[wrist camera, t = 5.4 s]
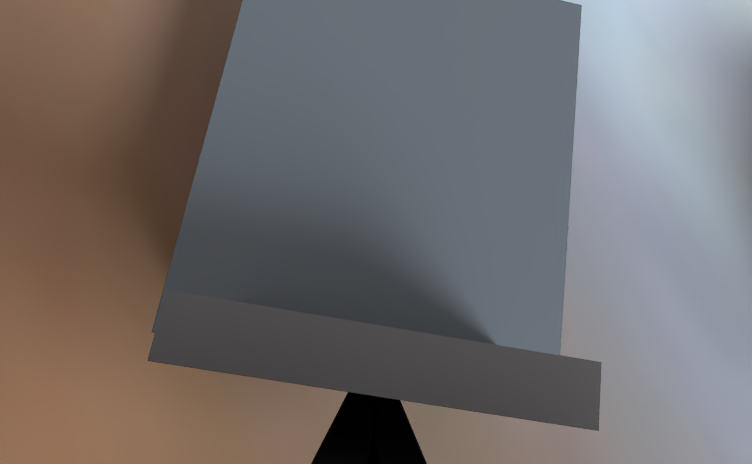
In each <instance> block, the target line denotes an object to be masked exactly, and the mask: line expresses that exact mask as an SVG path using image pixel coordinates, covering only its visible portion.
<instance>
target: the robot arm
mask: <svg viewBox="0 0 752 464" xmlns="http://www.w3.org/2000/svg"><path fill="white" fill-rule="evenodd" d="M311 464H427V463H426V461H425V458H424V456H423V454H422V451H421V449H420V446H419V444H418V442H417V439H416V437H415V435H414V432H413V430H412V427H411V425H410V423H409V420H408V418H407V415H406V413H405V411H404V408H403V406H402V404H401V401H400V400H397V399H390V398H384V397H378V396H371V395H365V394H358V393H352V392H348V393H347V395H346V397H345V399H344V401H343V403H342V405H341V407H340V409H339V411H338V413H337V415H336V417H335V419H334V420H333V422H332V424H331V426H330V428H329V430H328V432H327V434H326V436H325V438H324V440H323V442H322V444H321V446H320V448H319V450H318V452H317V453H316V455H315V457H314V459H313V461H312V463H311Z"/></svg>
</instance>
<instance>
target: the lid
mask: <svg viewBox="0 0 752 464" xmlns="http://www.w3.org/2000/svg"><path fill="white" fill-rule="evenodd" d="M581 7H582V5H578V4H574V3H570V2H565V1H561V0H243V1H242V5H241V9H240V12H239V16H238V20H237V23H236V27H235V30H234V34H233V38H232V41H231V45H230V49H229V52H228V56H227V60H226V63H225V67H224V70H223V74H222V78H221V81H220V85H219V89H218V92H217V96H216V100H215V103H214V107H213V111H212V114H211V118H210V121H209V125H208V129H207V132H206V136H205V140H204V143H203V147H202V151H201V154H200V158H199V162H198V165H197V169H196V172H195V176H194V180H193V183H192V187H191V191H190V194H189V198H188V202H187V205H186V209H185V212H184V216H183V220H182V223H181V227H180V231H179V234H178V238H177V242H176V245H175V249H174V253H173V256H172V260H171V263H170V267H169V271H168V274H167V278H166V282H165V285H164V289H163V293H162V296H161V300H160V304H159V307H158V311H157V314H156V318H155V322H154V325H153V329H152V332H153V333H155V335H154V339H153V342H152V346H151V350H150V353H149V357H148V361H152V362H158V363H165V364H171V365H178V366H184V367H191V368H197V369H204V370H210V371H216V372H223V373H229V374H236V375H242V376H249V377H255V378H262V379H268V380H274V381H281V382H287V383H294V384H300V385H307V386H313V387H320V388H326V389H332V390H339V391H345V392H352V393H358V394H365V395H371V396H378V397H384V398H390V399H397V400H403V401H410V402H416V403H423V404H429V405H436V406H442V407H448V408H455V409H461V410H468V411H474V412H481V413H487V414H494V415H500V416H506V417H513V418H519V419H526V420H532V421H539V422H545V423H552V424H558V425H564V426H571V427H577V428H584V429H590V430H597V431H599V407H600V382H601V362H596V361H590V360H584V359H578V358H572V357H567V356H561V355H560V348H561V332H562V315H563V299H564V283H565V267H566V251H567V234H568V218H569V202H570V186H571V169H572V153H573V137H574V121H575V105H576V88H577V72H578V56H579V40H580V23H581Z"/></svg>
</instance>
